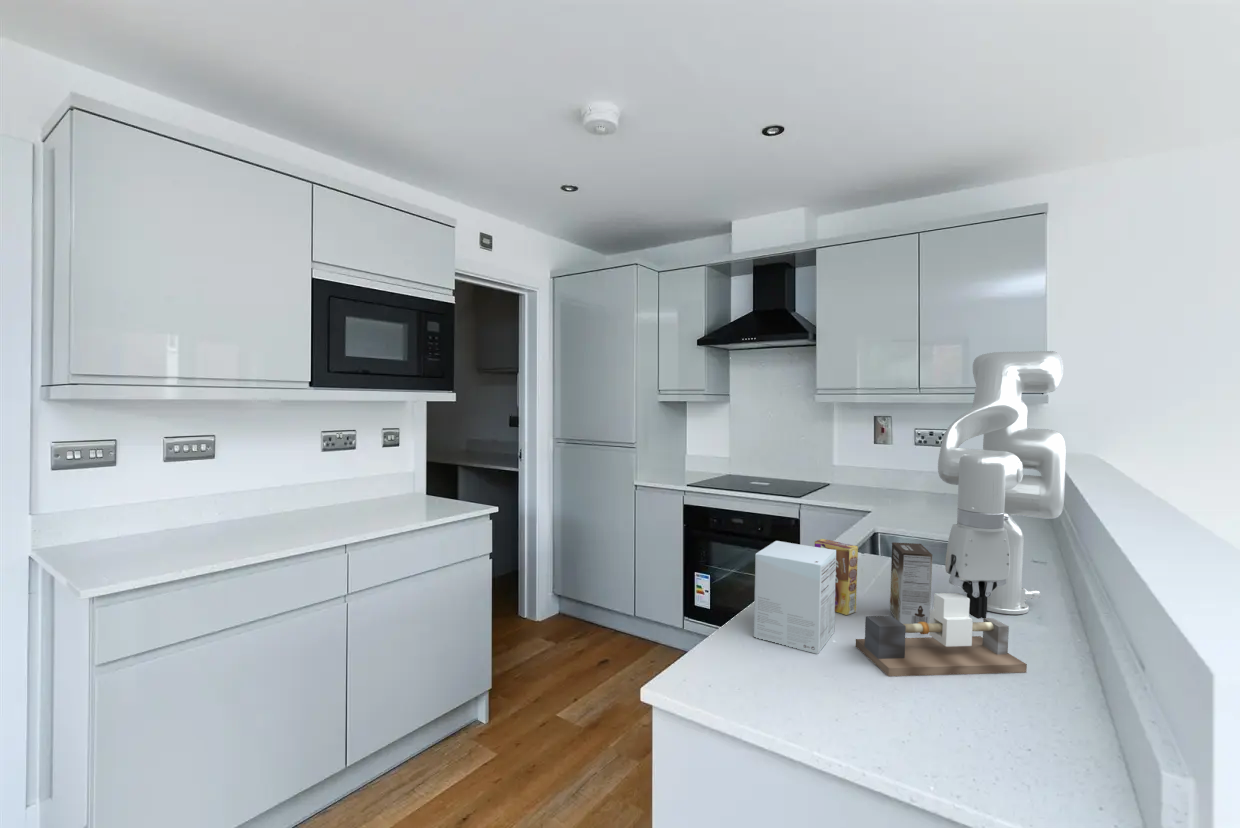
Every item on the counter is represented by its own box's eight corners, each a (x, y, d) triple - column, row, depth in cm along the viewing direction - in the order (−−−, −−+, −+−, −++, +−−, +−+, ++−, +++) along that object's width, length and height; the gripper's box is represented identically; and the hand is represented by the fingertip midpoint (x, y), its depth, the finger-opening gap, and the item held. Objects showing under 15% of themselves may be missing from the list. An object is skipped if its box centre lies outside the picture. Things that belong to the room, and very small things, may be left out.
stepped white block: (953, 634, 113) (955, 591, 112) (971, 645, 108) (973, 600, 107) (929, 635, 112) (930, 591, 112) (946, 646, 107) (947, 601, 107)
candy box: (857, 612, 133) (859, 545, 132) (847, 616, 130) (849, 548, 130) (822, 600, 140) (823, 537, 139) (811, 604, 137) (813, 540, 137)
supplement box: (835, 632, 122) (838, 549, 121) (818, 655, 111) (821, 564, 110) (773, 617, 129) (775, 539, 128) (752, 638, 118) (754, 552, 117)
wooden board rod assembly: (979, 643, 117) (981, 606, 117) (1026, 672, 105) (1028, 631, 105) (855, 646, 115) (856, 609, 114) (888, 676, 103) (890, 634, 102)
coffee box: (888, 610, 134) (890, 541, 134) (918, 612, 133) (920, 543, 132) (899, 625, 125) (901, 552, 125) (931, 628, 124) (934, 554, 124)
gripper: (1002, 515, 114) (998, 607, 115) (930, 515, 112) (926, 609, 113) (1033, 523, 106) (1028, 622, 107) (956, 524, 105) (952, 624, 106)
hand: (976, 615), depth 110 cm, fingers closed
